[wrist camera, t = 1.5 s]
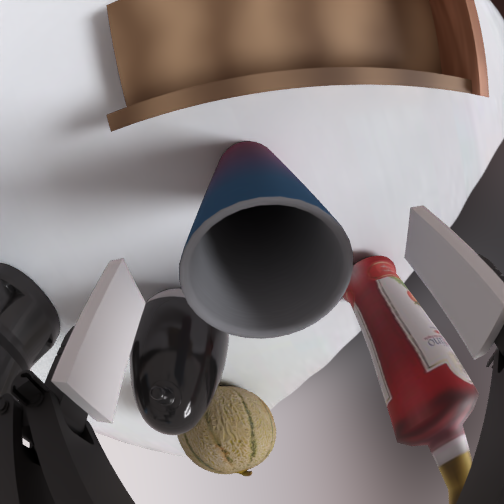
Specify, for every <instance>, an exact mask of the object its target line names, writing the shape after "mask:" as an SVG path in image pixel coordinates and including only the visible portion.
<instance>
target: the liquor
mask: <svg viewBox="0 0 504 504" xmlns="http://www.w3.org/2000/svg"><path fill="white" fill-rule="evenodd" d="M343 298H344V299H345V300H346V301H347V302H349V303H350V304H351V306H352V308H353V311H354V313H355V315H356V318H357V320H358V323H359V325H360V327H361V330H362V333H363V335H364V338H365V340H366V343H367V346H368V349H369V351H370V354H371V357H372V360H373V364H374V367H375V370H376V373H377V376H378V380H379V383H380V386H381V390H382V393H383V395H384V399H385V402H386V405H387V408H388V411H389V415H390V418H391V421H392V425H393V428H394V432H395V436H396V439H397V442H398V443H401V444H405V445H409V446H419V445H428V447H429V448H430V451H431V452H432V455H433V457H434V459H435V461H436V463H437V465H438V468H439V470H440V472H441V474H442V476H443V479H444V481H445V483H446V485H447V488H448V490H449V504H456V503H457V500H458V498H459V496H460V493H461V491H462V489H463V486H464V484H465V481H466V479H467V476H468V473H469V470H470V468H471V465H472V459H471V455H470V451H469V447H468V443H467V439H466V436H465V432H464V429H463V426H462V424H463V423H464V422H465V420H466V419H467V417H468V416H469V415H470V413H471V412H472V410H473V408H474V406H475V403H476V401H477V398H478V395H479V394H478V392H477V390H476V388H475V386H474V385H473V383H472V381H471V380H470V378H469V376H468V375H467V373H466V371H465V370H464V368H463V366H462V365H461V363H460V361H459V360H458V358H457V357H456V355H455V353H454V352H453V350H452V349H451V347H450V346H449V344H448V343H447V342H446V340H445V339H444V338H443V336H442V335H441V333H440V332H439V331H438V329H437V328H436V327H435V325H434V324H433V323H432V321H431V320H430V319H429V317H428V316H427V314H426V313H425V312H424V310H423V309H422V307H421V306H420V305H419V303H418V302H417V301H416V299H415V298H414V297H413V295H412V294H411V293H410V291H409V290H408V289H407V287H406V286H405V284H404V283H403V282H402V280H401V279H400V278H399V276H398V275H397V274H396V268H395V265H394V263H393V262H392V261H391V260H390V259H389V258H387V257H384V256H371V257H368V258H365V259H363V260H361V261H359V262H357V263H356V264H355V265H354V266H353V270H352V275H351V279H350V282H349V285H348V287H347V289H346V291H345V293H344V295H343Z"/></svg>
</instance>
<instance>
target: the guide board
mask: <svg viewBox="0 0 504 504" xmlns="http://www.w3.org/2000/svg"><path fill="white" fill-rule="evenodd" d="M107 12H108V18H109V25H110V31H111V36H112V42H113V47H114V52H115V57H116V62H117V67H118V72H119V76H120V81H121V85H122V89H123V94H124V98H125V102H126V106H127V107H126V108H123V109H120V110H118V111H115V112H113V113H110V114H108V115H107V119H108V122H109V126H110V130H111V132H112V131H114V130H117V129H120V128H122V127H125V126H128V125H131V124H134V123H137V122H140V121H143V120H146V119H149V118H152V117H155V116H159V115H162V114H165V113H169V112H172V111H176V110H180V109H183V108H187V107H191V106H195V105H199V104H203V103H208V102H212V101H217V100H222V99H226V98H231V97H237V96H242V95H248V94H254V93H260V92H267V91H275V90H282V89H291V88H301V87H313V86H328V85H357V84H374V85H402V86H416V87H427V88H437V89H445V90H452V91H459V92H465V93H470V94H475V95H480V96H485V97H489V90H488V76H487V66H486V58H485V50H484V44H483V38H482V33H481V28H480V23H479V19H478V14H477V10H476V6H475V3H474V0H118V1H116V2H113V3H111V4H109V5H107Z"/></svg>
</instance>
